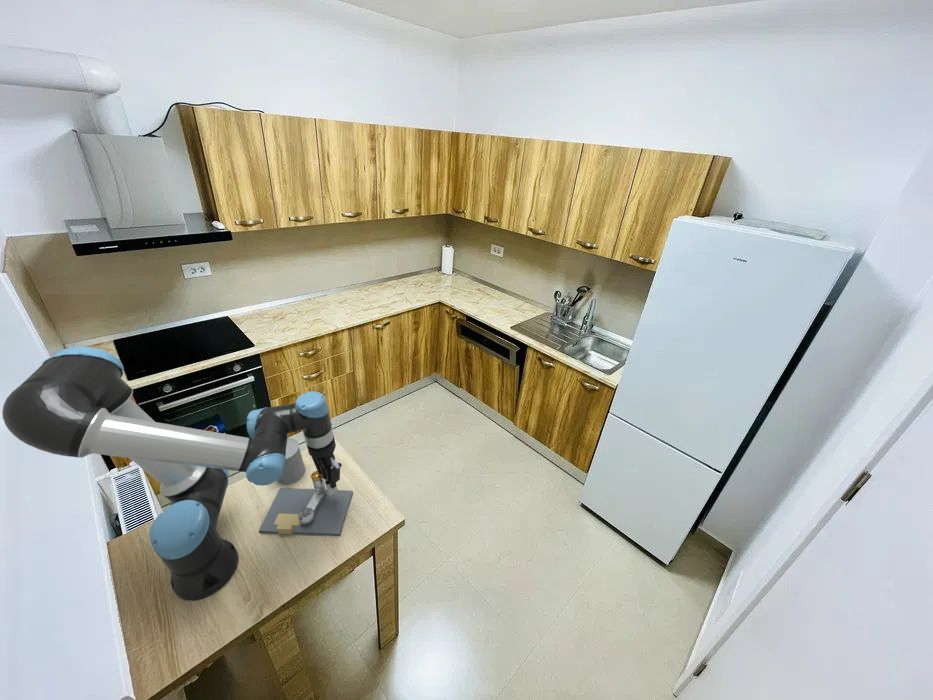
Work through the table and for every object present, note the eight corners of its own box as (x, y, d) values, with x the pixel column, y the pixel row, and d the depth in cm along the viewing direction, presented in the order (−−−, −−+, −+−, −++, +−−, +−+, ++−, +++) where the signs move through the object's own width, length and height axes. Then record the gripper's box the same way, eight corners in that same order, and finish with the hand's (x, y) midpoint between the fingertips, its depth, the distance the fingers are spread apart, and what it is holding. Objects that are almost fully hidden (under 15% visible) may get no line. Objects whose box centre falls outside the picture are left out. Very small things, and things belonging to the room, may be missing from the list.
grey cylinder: (270, 475, 128) (261, 450, 121) (294, 458, 135) (288, 434, 128) (286, 489, 124) (278, 465, 117) (311, 471, 130) (304, 447, 124)
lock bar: (310, 527, 112) (304, 507, 106) (296, 524, 112) (290, 505, 107) (330, 491, 122) (325, 471, 117) (317, 488, 123) (312, 469, 117)
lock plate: (258, 535, 110) (254, 524, 107) (280, 490, 123) (277, 479, 120) (339, 537, 111) (337, 527, 108) (352, 492, 124) (351, 482, 121)
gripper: (345, 442, 105) (355, 494, 118) (317, 422, 111) (329, 473, 124) (323, 458, 100) (336, 511, 113) (294, 436, 106) (309, 489, 119)
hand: (332, 491), depth 118 cm, fingers closed
